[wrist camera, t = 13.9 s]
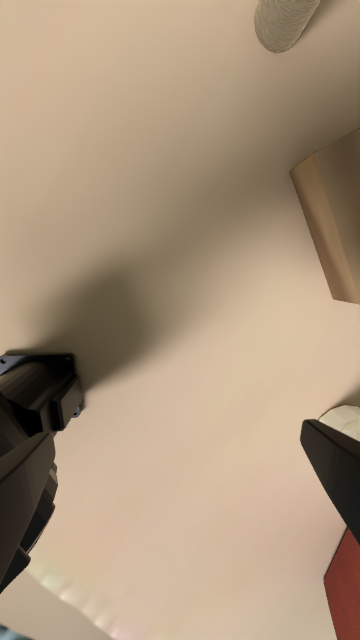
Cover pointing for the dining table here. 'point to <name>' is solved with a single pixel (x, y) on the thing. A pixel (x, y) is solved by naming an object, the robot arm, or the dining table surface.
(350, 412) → the white cup
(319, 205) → the socket block
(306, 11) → the t key
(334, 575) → the plant pot
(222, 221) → the dining table surface
